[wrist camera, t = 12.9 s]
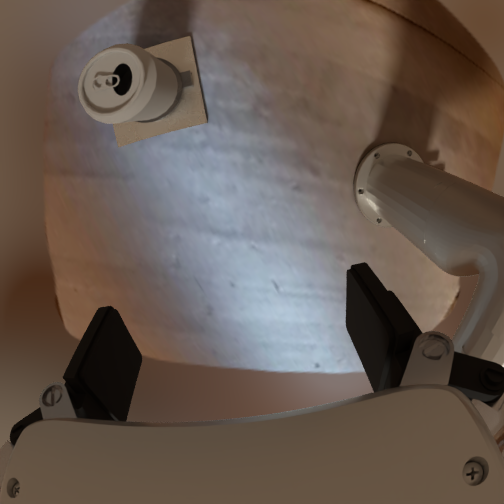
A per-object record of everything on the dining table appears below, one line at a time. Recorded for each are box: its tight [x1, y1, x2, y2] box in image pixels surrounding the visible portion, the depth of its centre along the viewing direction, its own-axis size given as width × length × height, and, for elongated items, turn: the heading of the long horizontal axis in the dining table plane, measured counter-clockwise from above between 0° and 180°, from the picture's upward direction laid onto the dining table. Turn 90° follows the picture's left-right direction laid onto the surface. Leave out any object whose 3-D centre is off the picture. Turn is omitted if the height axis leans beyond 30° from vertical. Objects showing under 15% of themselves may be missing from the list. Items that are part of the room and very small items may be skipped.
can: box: [78, 43, 178, 124], centre depth 23 cm, size 8×8×12 cm
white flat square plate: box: [113, 36, 208, 147], centre depth 29 cm, size 12×12×2 cm
